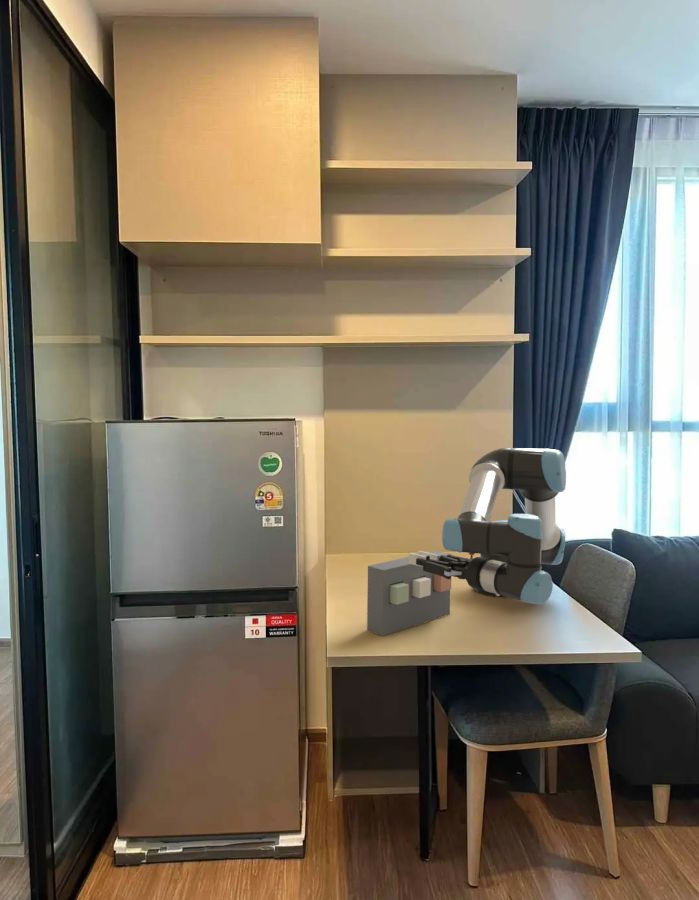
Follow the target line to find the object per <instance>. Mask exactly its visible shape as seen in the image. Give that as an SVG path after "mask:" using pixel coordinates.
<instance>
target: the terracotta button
mask: <svg viewBox="0 0 699 900" xmlns="http://www.w3.org/2000/svg"><path fill="white" fill-rule="evenodd" d="M433 590H435V591H439V592H443V591H446V590H450V591H451V590H452V578H451V579H446V578H444V577H442V576H439V575H436V574H433Z"/></svg>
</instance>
